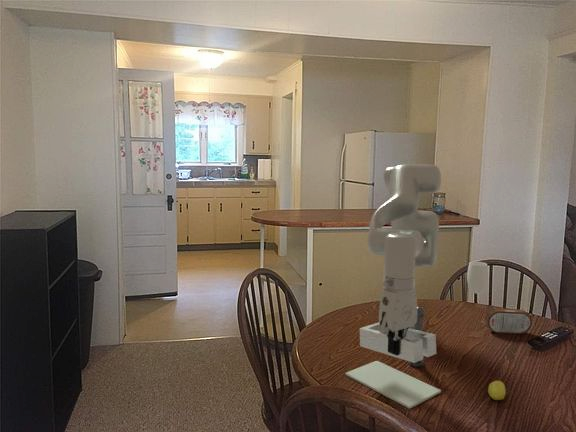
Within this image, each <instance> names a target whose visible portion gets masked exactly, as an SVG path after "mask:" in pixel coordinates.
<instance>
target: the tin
mask: <svg viewBox="0 0 576 432" xmlns="http://www.w3.org/2000/svg"><path fill="white" fill-rule="evenodd" d="M484 322H485V325H486V326H487V327H488V329H490V331H491V332H493V333H496V334H508V335H509V334H510V335H523V334H526V333H528V332H529V331H530V329H531V328H532V325H533V320H532V317H531V316H530V315H529V313H528V312H527V311H525V310H523V309H521V308H519V309H517V308H516V309H515V308H497V307H496V308H493V309H491V310H489V311H488V312H487V314H486V315H485V320H484Z"/></svg>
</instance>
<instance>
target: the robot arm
mask: <svg viewBox="0 0 576 432" xmlns="http://www.w3.org/2000/svg"><path fill="white" fill-rule="evenodd" d="M383 181H384V184H385V186H386V188H387V190H388V197H387V198H388V200H387V201H385V202H384V203H383V204H381V205H380V206H379V207H378V208H377V209H376V210H375V211H374V213H373V214H372V215H371V218H370V222H369V228H368V236H367V247H368V250H369V252H370V253H371V254H372V255H374V256H381V257H382V256H384V259H383V280H382V281H383V282H382V284H383V288H382V290H381V296H380V300H379V301H380V302H379V309H378V311H379V312H378V322H379V324H380V326H381V329H380V333H381V334H384V335H386V336H387V338H388V352H389V353H392V354H394V355H396V356H397V355H399V340H398V336H399V337H403V338H405V337H406V335H407V330H408V329H409V328H410V329H414V324H416V322H417V307H418V296H417V290H416V276H415V275H416V273H415V272H416V271H415V269H416V267H421V268H422V267H423V268H425V267H426V268H431V267H433V266H435V265H436V263H437V261H438V252H439V251H438V249H439V235H440V234H439V232H440V231H439V230H440V221H439V217H438V214H437V213H436V212H434V211H433V210H432V211H431V210H418V208H419V205H420V204H419V197H420V194H436V193H437V192H438V191H439V190H440V187H441V183H442V174H441V171H440V168H439V167H438V166H437V165H435V164H429V163H403V164H399V165H394V166H389V167H386V169H384V172H383ZM389 223H390V225H391V226H390V227H384V226H385V225H386V224H389ZM391 330H392V331H393V332H392V331H391Z"/></svg>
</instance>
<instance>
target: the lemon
mask: <svg viewBox="0 0 576 432" xmlns="http://www.w3.org/2000/svg"><path fill="white" fill-rule="evenodd" d="M487 392H488V395H489V396H490V397H491V398H492V400H495V401H502V400H504V399H505V396H506V394H507V392H506V385H505V383H504V382H503V381H501V380H493V381H492V382H491V383H489V385H488V389H487Z"/></svg>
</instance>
